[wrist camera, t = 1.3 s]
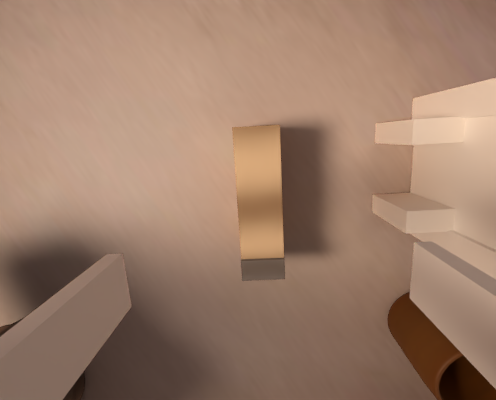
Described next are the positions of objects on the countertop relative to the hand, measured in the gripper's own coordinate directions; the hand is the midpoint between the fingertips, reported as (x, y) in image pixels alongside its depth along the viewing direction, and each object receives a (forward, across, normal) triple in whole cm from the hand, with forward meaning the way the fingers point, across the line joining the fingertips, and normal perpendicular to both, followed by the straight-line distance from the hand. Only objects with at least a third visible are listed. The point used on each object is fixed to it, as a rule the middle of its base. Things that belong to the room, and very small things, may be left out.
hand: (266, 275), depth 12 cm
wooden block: (+18, 0, 0) cm, 18 cm away
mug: (+19, +19, -14) cm, 30 cm away
